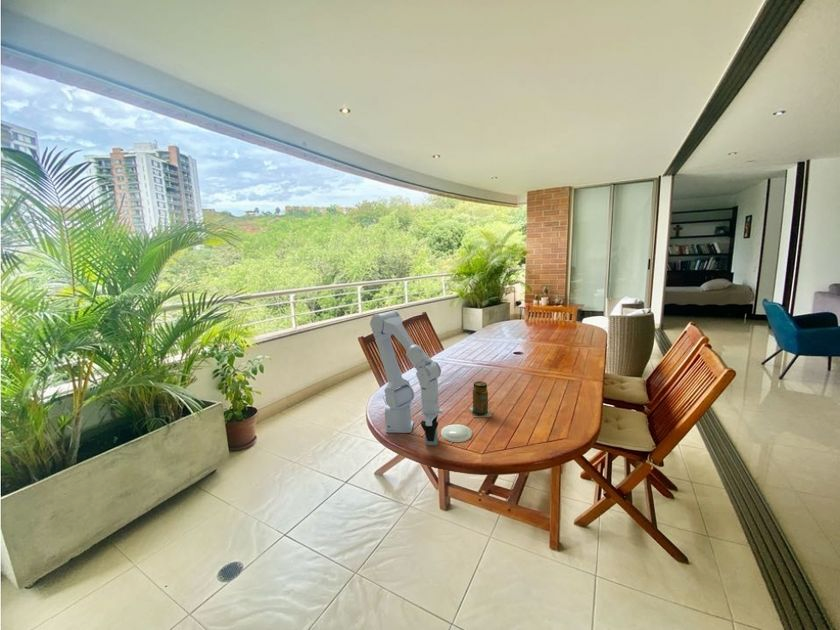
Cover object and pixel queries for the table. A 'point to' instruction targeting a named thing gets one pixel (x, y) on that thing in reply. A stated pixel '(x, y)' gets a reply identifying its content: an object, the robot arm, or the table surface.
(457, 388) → the table surface
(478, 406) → the condiment
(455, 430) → the dish
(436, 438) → the block
